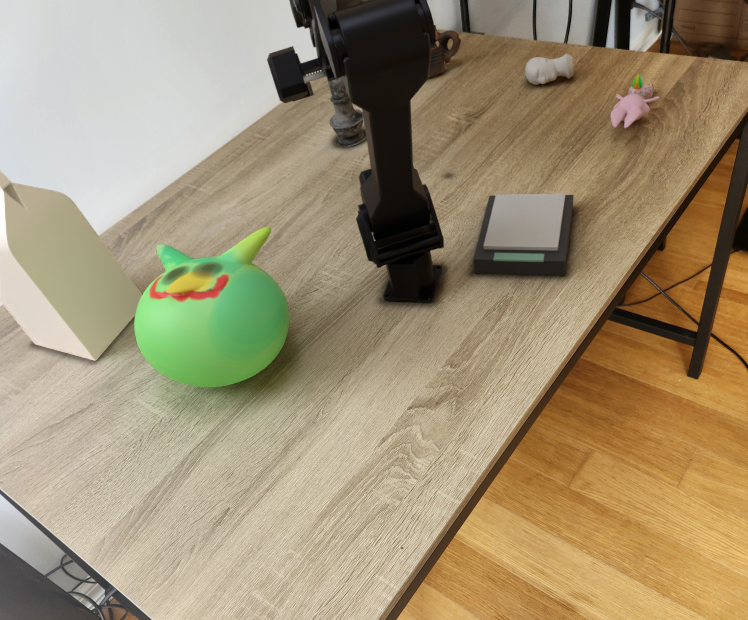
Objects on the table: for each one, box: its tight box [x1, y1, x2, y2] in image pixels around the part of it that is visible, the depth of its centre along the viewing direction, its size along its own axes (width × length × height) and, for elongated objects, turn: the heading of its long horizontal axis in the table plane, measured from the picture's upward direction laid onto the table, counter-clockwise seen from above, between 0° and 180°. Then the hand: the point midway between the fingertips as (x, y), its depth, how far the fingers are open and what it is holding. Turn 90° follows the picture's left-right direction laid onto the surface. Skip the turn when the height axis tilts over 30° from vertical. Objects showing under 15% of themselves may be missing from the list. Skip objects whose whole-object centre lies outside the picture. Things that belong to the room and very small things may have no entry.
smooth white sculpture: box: [524, 53, 574, 86], centre depth 107 cm, size 4×8×5 cm
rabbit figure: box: [609, 73, 660, 129], centre depth 95 cm, size 6×6×15 cm
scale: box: [473, 193, 575, 277], centre depth 83 cm, size 13×11×3 cm
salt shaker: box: [327, 78, 367, 148], centre depth 105 cm, size 6×6×12 cm
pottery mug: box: [429, 24, 462, 77], centre depth 118 cm, size 12×10×8 cm
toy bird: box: [133, 226, 290, 388], centre depth 76 cm, size 18×17×15 cm
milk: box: [0, 170, 143, 362], centre depth 82 cm, size 12×12×26 cm
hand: (340, 82), depth 96 cm, fingers open, 9 cm apart
